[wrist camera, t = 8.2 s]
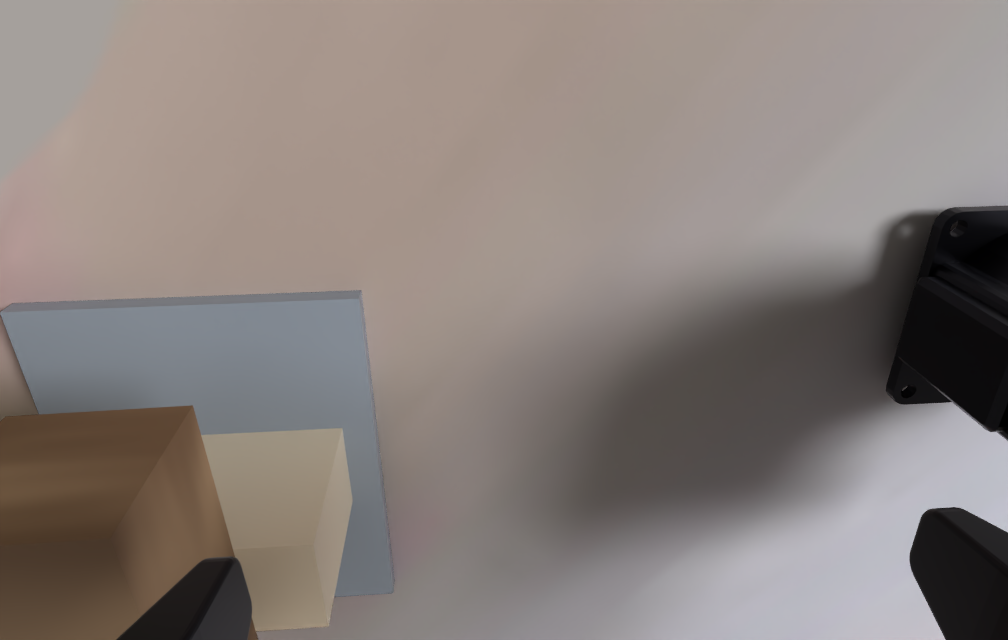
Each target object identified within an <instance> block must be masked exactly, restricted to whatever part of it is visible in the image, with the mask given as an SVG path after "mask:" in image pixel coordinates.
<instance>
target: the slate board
mask: <svg viewBox="0 0 1008 640" xmlns="http://www.w3.org/2000/svg"><path fill="white" fill-rule="evenodd" d="M0 315H1V317H2V320H3V322H4V325H5V328H6V330H7V333H8V335H9V338H10V340H11V343H12V346H13V348H14V351H15V353H16V356H17V359H18V361H19V364H20V366H21V369H22V372H23V374H24V377H25V379H26V382H27V385H28V387H29V390H30V392H31V395H32V398H33V400H34V403H35V405H36V408H37V411H38V413H39V414H56V413H73V412H90V411H107V410H124V409H140V408H157V407H174V406H191V405H193V407H194V411H195V415H196V418H197V422H198V425H199V429H200V433H201V436H202V440H203V443H204V447H205V451H206V454H207V458H208V461H209V465H210V469H211V472H212V476H213V479H214V483H215V487H216V490H217V494H218V497H219V501H220V505H221V508H222V512H223V515H224V519H225V522H226V526H227V530H228V533H229V537H230V540H231V544H232V548H233V551H234V555H235V557H236V558H237V559H238V560H239V562H240V564H241V566H242V570H243V573H244V577H245V580H246V584H247V587H248V591H249V594H250V598H251V602H252V620H253V623H254V627H255V630H256V632H257V631H272V630H286V629H301V628H316V627H328V626H329V621H330V616H331V611H332V606H333V600H334V597H343V596H359V595H374V594H390V593H393V592H394V581H395V579H394V571H393V562H392V553H391V544H390V536H389V527H388V518H387V510H386V501H385V492H384V483H383V475H382V466H381V457H380V448H379V440H378V431H377V422H376V414H375V405H374V396H373V387H372V379H371V370H370V361H369V353H368V344H367V335H366V326H365V318H364V309H363V300H362V291H361V290H356V291H329V292H302V293H276V294H249V295H222V296H195V297H168V298H142V299H115V300H88V301H61V302H34V303H12V304H11V305H9V306H8V307H7V308H5V309H4V310H2V311H1V312H0Z"/></svg>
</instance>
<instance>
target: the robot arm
mask: <svg viewBox="0 0 1008 640" xmlns="http://www.w3.org/2000/svg"><path fill="white" fill-rule="evenodd" d="M956 221H958V225H957V226H956V228H955V229H954V230H953V231H951V232H950V228H951V226H952V225H953V224H954V223H955V222H956ZM907 385H908V386H907ZM905 386H907V388H906V389H904V390H903V391H902V389H903V388H904V387H905ZM886 391H887V393H888V395H889V396H890V397H891V398H892V399H893V400H894V401H896V402H897V403H899V404H924V403H944V402H953V403H954V404H955V405H956V406H958V407H959V408H960V409H961V410H963V411H964V412H965V413H966V414H967V415H969V416H970V417H971V418H972V419H973V420H975V421H976V422H977V423H978V424H980V425H981V426H982V427H983V428H984V429H986V430H988V431H990V432H998V433H999V434H1000V435H1001V436H1002V437H1004V438H1005V439H1006V440H1007V441H1008V206H986V207H955V208H950V209H947V210H945V211H943V212H942V213H941V214H940V215H939V216H938V217H937V218H936V219H935V221H934V224H933V226H932V230H931V233H930V237H929V240H928V244H927V247H926V250H925V254H924V257H923V261H922V264H921V268H920V271H919V275H918V278H917V282H916V285H915V288H914V291H913V295H912V298H911V302H910V305H909V309H908V312H907V316H906V319H905V323H904V326H903V329H902V333H901V336H900V340H899V343H898V347H897V350H896V354H895V358H894V361H893V364H892V368H891V371H890V375H889V378H888V382H887V385H886ZM910 566H911V570H912V572H913V575H914V577H915V579H916V581H917V583H918V585H919V587H920V589H921V591H922V593H923V595H924V597H925V599H926V601H927V603H928V605H929V607H930V609H931V611H932V613H933V615H934V617H935V619H936V621H937V623H938V625H939V627H940V629H941V631H942V633H943V635H944V637H945V639H946V640H1008V532H1006V531H1004V530H1002V529H1000V528H998V527H996V526H994V525H992V524H990V523H989V522H987V521H985V520H983V519H981V518H979V517H977V516H975V515H973V514H971V513H970V512H968V511H966V510H964V509H961V508H955V507H951V508H936V509H929V510H927V511H926V512H925V513H924V514H923V515H922V517H921V519H920V523H919V526H918V529H917V532H916V535H915V538H914V542H913V545H912V548H911V551H910ZM251 619H252V602H251V598H250V594H249V591H248V587H247V584H246V580H245V577H244V573H243V570H242V566H241V564H240V562H239V560H238V559H237V558H236V557H232V556H228V557H214V558H206V559H204V560H202V561H200V562H199V563H198V564H197V565H196V566H194V567H193V568H192V569H191V570H190V571H189V572H188V573H187V574H186V575H185V576H184V577H183V578H182V579H180V580H179V581H178V582H177V583H176V584H175V585H174V586H173V587H172V588H171V589H170V590H169V591H168V592H167V593H165V594H164V595H163V596H162V597H161V598H160V599H159V600H158V601H157V602H156V603H155V604H154V605H153V606H151V607H150V608H149V609H148V610H147V611H146V612H145V613H144V614H143V615H142V616H141V617H140V618H139V619H137V620H136V621H135V622H134V623H133V624H132V625H131V626H130V627H129V628H128V629H127V630H126V631H125V632H123V633H122V634H121V635H120V636H119V637H118V638H117V639H116V640H248V635H249V630H250V625H251Z"/></svg>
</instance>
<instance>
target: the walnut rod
mask: <svg viewBox="0 0 1008 640" xmlns="http://www.w3.org/2000/svg"><path fill="white" fill-rule="evenodd" d="M228 556H232V557H235V555H234V551H233V548H232V544H231V540H230V537H229V533H228V530H227V526H226V522H225V519H224V515H223V512H222V508H221V505H220V501H219V497H218V494H217V490H216V487H215V483H214V479H213V476H212V472H211V469H210V465H209V461H208V458H207V454H206V451H205V447H204V443H203V440H202V436H201V433H200V429H199V425H198V422H197V418H196V415H195V411H194V407H193V405H191V406H174V407H157V408H140V409H124V410H107V411H90V412H73V413H56V414H39V415H22V416H6V417H5V418H4V419H3V420H2V421H0V640H116V639H117V638H118V637H119V636H120V635H121V634H122V633H123V632H125V631H126V630H127V629H128V628H129V627H130V626H131V625H132V624H133V623H134V622H135V621H136V620H137V619H139V618H140V617H141V616H142V615H143V614H144V613H145V612H146V611H147V610H148V609H149V608H150V607H151V606H153V605H154V604H155V603H156V602H157V601H158V600H159V599H160V598H161V597H162V596H163V595H164V594H165V593H167V592H168V591H169V590H170V589H171V588H172V587H173V586H174V585H175V584H176V583H177V582H178V581H179V580H180V579H182V578H183V577H184V576H185V575H186V574H187V573H188V572H189V571H190V570H191V569H192V568H193V567H194V566H196V565H197V564H198V563H199V562H200V561H202V560H204V559H206V558H214V557H228ZM248 640H258V638H257V634H256V630H255V627H254V623H253V620H252V619H251V625H250V630H249V635H248Z"/></svg>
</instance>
